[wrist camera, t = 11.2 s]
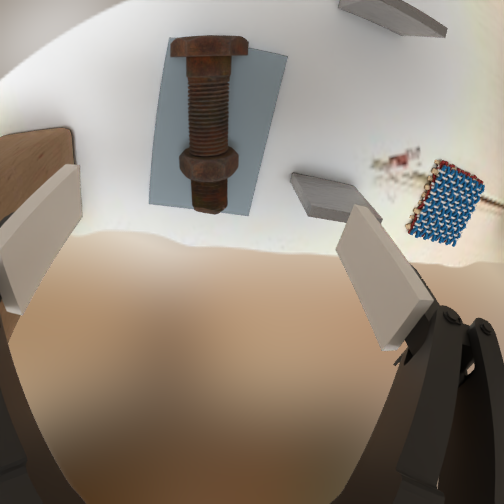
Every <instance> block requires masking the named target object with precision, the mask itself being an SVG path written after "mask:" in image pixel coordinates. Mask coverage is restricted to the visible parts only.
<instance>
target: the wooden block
mask: <svg viewBox="0 0 504 504" xmlns="http://www.w3.org/2000/svg"><path fill="white" fill-rule="evenodd" d="M65 164H74V158H73V147H72V135H71V132H70V130H69V129H65V128H54V129H45V130H37V131H30V132H24V133H17V134H11V135H6V136H2V137H0V221H1V220H2V219H3V218H4V217H6V216H7V215H9V214H11V213H12V212H15V211H16V210H17V209H18V208H19V207H20V206H21V205H22V204H23V203H24V202H25V201H26V200H27V199H28V198H29V197H30V196H31V195H32V194H33V193H34V192H35V191H36V190H37V189H39V188H40V187H41V186H42V185H43V184H44V183H45V182H46V181H47V180H48V179H49V178H50V177H52V176H53V175H54V174H55V173H56V172H57V171H58V170H59V169H61V168H62V167H63V166H64V165H65ZM0 314H1V318H2V323H3V327H4V331H5V335H6V339H7V342H9V339H10V337H11V335H12V333H13V330H14V328H15V326H16V324H17V322H18V320H19V318H20V316H21V315H18V314H15V313H11V312H7V310H6V308H5V306H4V303H3V301H2V300H1V302H0Z"/></svg>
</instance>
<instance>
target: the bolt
mask: <svg viewBox="0 0 504 504" xmlns="http://www.w3.org/2000/svg"><path fill="white" fill-rule="evenodd" d="M248 43H249V42H248V41H247V40H246V39H245V38H243V37H241V36H212V35H207V36H191V37H182V38H176V39H175V40H173V42H172V43H171V44H170V57H186V76H187V78H188V83H187V84H188V85H190V86H188V89H190V90H188V93H189V95H188V97H189V99H188V101H189V103H188V105H189V107H188V110H189V111H188V114H189V115H188V117H189V119H188V121H189V123H188V125H189V127H188V129H189V131H188V132H189V133H190V134H189V137H190V138H189V141H190V142H189V145H190V146H189V148H187V149H185V150H184V151H183V152H182V153H181V155H180V156H179V168H180V170H181V172H182V173H183V174H184V175H185V177H187V178H188V179H190V180H191V192H192V206H193V207H194V210H196V211H198V212H203V213H209V214H218V213H220V212H221V211H223V210H224V209H225V208H226V207H227V205H228V200H227V199H228V198H227V195H228V194H227V192H228V191H227V189H228V187H227V185H228V183H227V182H228V180H227V179H228V178H229V177H231V176H232V175H233V174H234V173H235V171H236V170H237V168H238V166H239V155H238V153H237V152H236V151H235V150H234V149H233V148H232V147H230V146H228V139H227V138H228V135H227V134H228V131H227V130H228V129H229V128H228V125H229V124H228V122H229V120H228V118H229V116H228V114H229V112H228V109H229V108H228V107H227V106H229V104H228V103H227V102H229V99H228V98H229V95H228V94H229V91H227V90H229V87H227V86H229V85H230V84H229V83H227V82H229V81H230V75H231V61H232V56H248Z"/></svg>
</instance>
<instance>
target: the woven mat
mask: <svg viewBox="0 0 504 504" xmlns="http://www.w3.org/2000/svg"><path fill="white" fill-rule="evenodd" d="M434 163H435V164H437V165H438V167H437V168H436V169H435V168H433V170H432V173H433V177H431V176H428V178H427V180H429V181H431V182H432V183H431V185H429V184H427V185H425V190H428V191H427V193H425V192H423V194H422V197H424V198H423V199H424V200H423V201H420V200H419V202H418V204H420V206H419V207H418V208H417V209H416V208H415V209H414V211H413V212H414V213H415V216H413V215H410V217H409V218H412V219H414V220H413V222H412V224H407V225H406V229H409V231H408V233H409V234H410V235H413V234H414V233H415V232H416V231H417V232H416V235H415V238H418V237H423V236H424V234H425V236H424V237H423V239H424V240H426V239H429V238H431V236H433V237H432V239H431V241H432V242H434V240H435V241H437V240H438V239H439V237H440V239H439V241H438V242H439V243H441V242H442V243H444V242H445V241H446V239H447V241H446V243H445V244H446V245H448V244H451V242H453V241H454V242H453V244H452V246H453V247H454V246H455V245H456V241H458V239H459V238H460V237H461V233H462V232H461V231H462V230H463V229H464V228H466V224H467V223H468V222H467V221H468V220H470V219H471V214H473V211H476V209H475V207H476V205H475V204H476V203H477V202H478V201H480V197H481V196H482V195H481V193H484V187H485V185H482V184H483V181H480V179H476V178H477V177H476V176H475V175H474V176H472V175H471V176H470V173H469V172H468V173H467V172H464V171H463V170H461V171H460V169H459V168H457V169H455V165H451V164H450V165H448V162H447V161H443V160H442V161H439V160H435V162H434ZM445 171H446V172H445ZM453 175H454V176H453ZM437 176H439V177H438V178H437ZM445 180H447V181H446V182H445ZM460 187H462V188H460ZM441 189H443V190H441ZM467 190H468V191H467ZM470 193H471V194H470ZM463 198H464V199H463ZM430 202H431V203H430ZM422 208H423V210H422ZM438 214H440V215H438ZM467 216H468V217H467ZM453 219H454V220H453ZM460 221H461V222H460ZM436 227H437V228H436ZM444 229H445V230H444ZM449 232H450V233H449ZM457 233H458V234H457Z"/></svg>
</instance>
